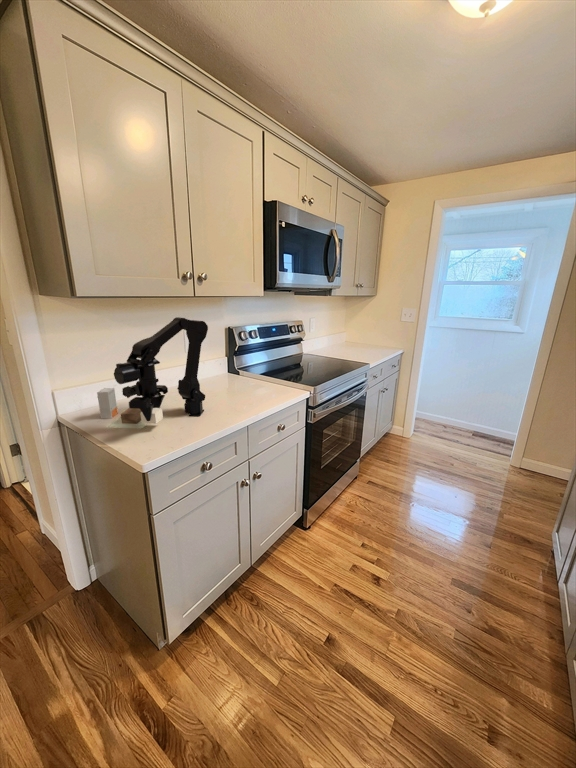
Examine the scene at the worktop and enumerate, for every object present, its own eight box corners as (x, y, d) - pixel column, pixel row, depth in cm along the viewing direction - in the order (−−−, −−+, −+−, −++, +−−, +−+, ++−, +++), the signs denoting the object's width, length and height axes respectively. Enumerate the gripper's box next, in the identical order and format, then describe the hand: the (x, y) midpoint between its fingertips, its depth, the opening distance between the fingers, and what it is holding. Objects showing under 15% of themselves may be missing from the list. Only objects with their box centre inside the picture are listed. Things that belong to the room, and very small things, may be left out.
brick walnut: (144, 417, 128) (143, 408, 127) (137, 423, 122) (135, 414, 121) (130, 417, 128) (128, 408, 127) (121, 423, 122) (120, 413, 121)
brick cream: (162, 417, 121) (161, 408, 119) (156, 423, 115) (155, 413, 114) (149, 417, 121) (147, 407, 120) (141, 423, 116) (140, 413, 114)
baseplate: (158, 416, 132) (158, 414, 132) (142, 430, 118) (142, 428, 118) (125, 415, 132) (125, 413, 132) (106, 429, 119) (105, 427, 119)
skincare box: (112, 420, 127) (107, 392, 124) (101, 420, 127) (96, 392, 123) (118, 414, 133) (114, 387, 129) (108, 414, 132) (103, 387, 129)
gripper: (138, 370, 123) (143, 408, 127) (110, 384, 105) (117, 427, 109) (166, 371, 122) (170, 408, 127) (143, 385, 104) (148, 428, 109)
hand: (152, 417), depth 118 cm, fingers closed on brick cream, 5 cm apart
